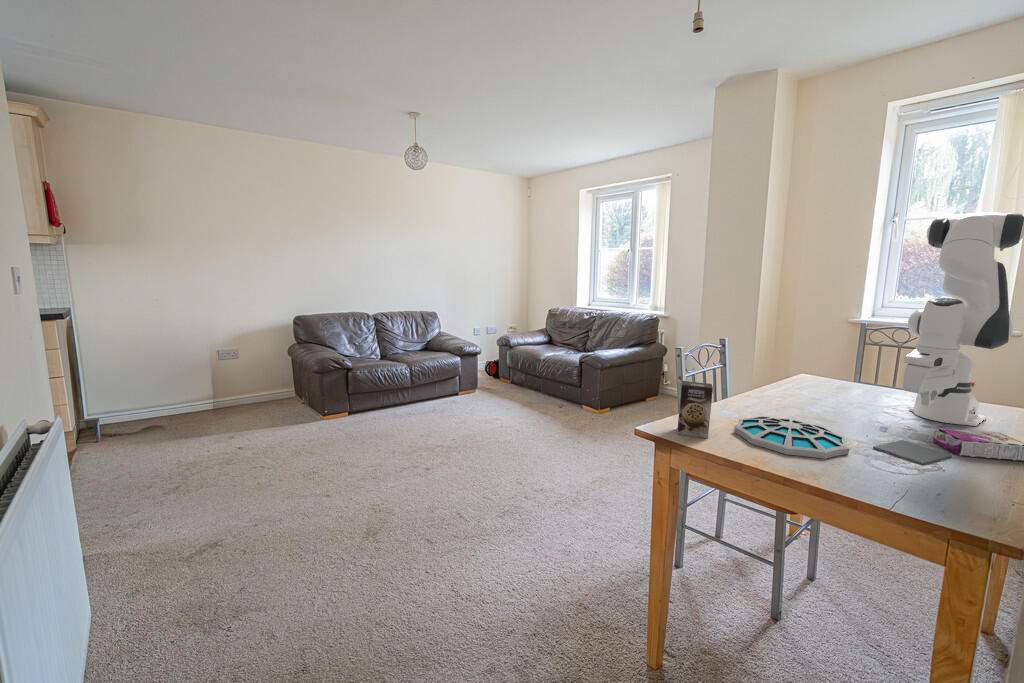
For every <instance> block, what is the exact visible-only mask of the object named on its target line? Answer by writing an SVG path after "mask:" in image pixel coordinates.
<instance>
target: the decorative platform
mask: <svg viewBox="0 0 1024 683" xmlns="http://www.w3.org/2000/svg"><path fill="white" fill-rule="evenodd" d="M734 433H735V434H736V435H737V436H740V437H742V438H743V439H744V440H746V441H747V442H749V443H750V444H751V445H753V446H757V447H761V448H765V449H768V450H771V451H775V452H778V453H780V454H783V455H786V456H787V455H788V456H789V455H790V456H796V457H797V456H798V457H799V456H800V457H808V458H817V459H825V460H826V459H830V458H833V457H839V456H846V455H847V456H848V455H849V453H850V448H849V446H848V444H847V440H848V438H847V437H845V436H842V435H840V434H838V433H835V432H834V431H832V430H829V429H827V428H826V427H824V426H821V425H818V424H813V423H808V422H802V421H799V420H796V419H793V418H783V417H781V418H780V417H772V416H766V415H765V416H761V415H759V416H754V417H750V418H747V417H746V418H739V419H738V424H737V425H736V426H735V427H734Z"/></svg>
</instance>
